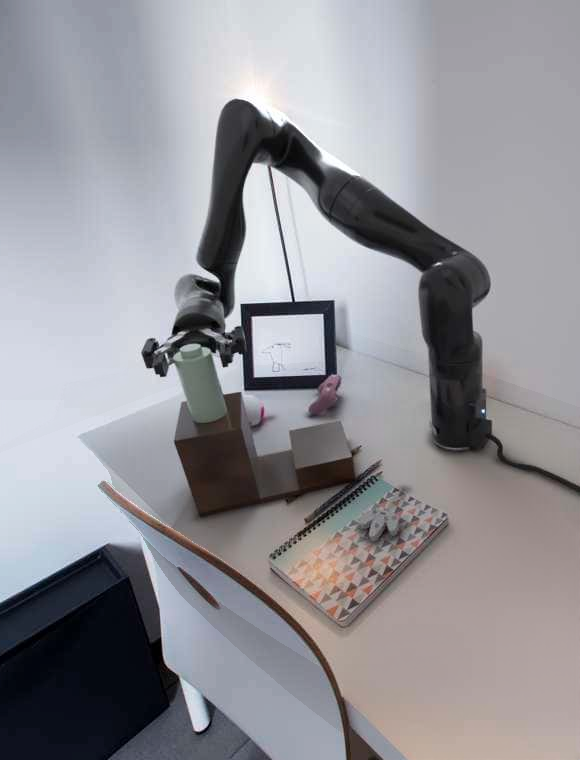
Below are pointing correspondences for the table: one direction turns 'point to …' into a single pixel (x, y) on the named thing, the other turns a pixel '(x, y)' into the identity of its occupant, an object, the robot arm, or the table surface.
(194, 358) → the green knobbed cylinder
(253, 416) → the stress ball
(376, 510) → the grey lobed piece
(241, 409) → the step shelf
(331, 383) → the pink lumpy piece
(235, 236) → the robot arm
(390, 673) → the table surface
